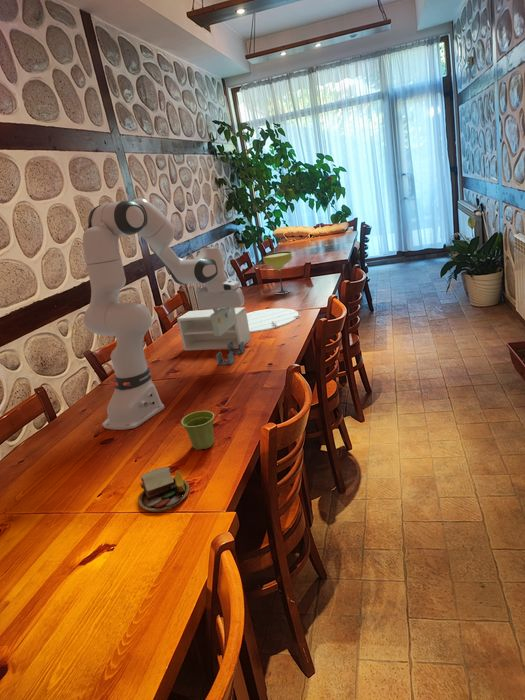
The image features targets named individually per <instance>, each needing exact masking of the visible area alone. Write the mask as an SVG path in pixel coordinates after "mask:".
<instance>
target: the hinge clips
mask: <svg viewBox="0 0 525 700" xmlns="http://www.w3.org/2000/svg"><path fill="white" fill-rule="evenodd" d="M227 346H228V349H227V350H228V351H227V352H228V354H227V355H226V357H227V360H225V359H224V358H223V351H219V352H218V353H217V354H216V355H215V358H216V364H217V366H227V365H226V364H231V365H232V364H234V362H235V356H234V355H242V354H243V353H245V352H246V349H245V346H244V342H241V343H240V344H239V345H238V346H239V349H234V347H233V342H230V343H229V344H228V345H227Z"/></svg>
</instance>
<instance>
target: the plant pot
mask: <svg viewBox="0 0 525 700" xmlns="http://www.w3.org/2000/svg"><path fill="white" fill-rule="evenodd" d="M214 418H215V414H214V412H212V411H210V410H199V411H194V412H191V413H189V414H187V415H185V416H184V417H183V418H182V419H181V421H180V422H181V425H182V426H183V427H184V429H185V430H186V433H187V436H188V437H189V440H190V442H191V444H192V448H193V449H194V450H197V451H198V450H199V451H201V450H203V449H205V450H206V449H208V448H211V447H212V446H213V445H214V442H215V441H214V438H215V437H214Z"/></svg>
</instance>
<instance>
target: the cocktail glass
mask: <svg viewBox="0 0 525 700" xmlns="http://www.w3.org/2000/svg"><path fill="white" fill-rule="evenodd" d="M292 257H293V256H292V253H291V252H290V251H280V252H274V253H269V254H265V255H264V256H263V257H262V259H263V263H264V264H265V265H267V266H270V267H272V268H275V269H276V271H278V274H279V281H280V290H278V291H279V292H278V291H276V292H277V293H285V292H288V291H287V290H288V289H285V290H284V287H283V282H282V277H281V270H282V268H283V267H284V266H285V265H286V264H288V263H289V262H290V261H291V259H292Z"/></svg>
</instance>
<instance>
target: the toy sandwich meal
mask: <svg viewBox="0 0 525 700" xmlns="http://www.w3.org/2000/svg"><path fill="white" fill-rule="evenodd" d="M140 480H141V483H140V488H141V489H143V491H142V492H141V493H140V495H139V496H138V504H139V506H140V508H142V509H143V510H145V511H149V512H153V513H154V512H156V513H160V512H164V510H165V511H168V510H170V508H171V509H173V508H174V506H175V507H177V506H178V505H180V502H181V501H182V500H183V499H184V500H185V499H186V497H187V496H188V494H189V492H190V485H189V482H188V481H186V480H185V479H183V476H182V474H181V472H180V471H179V470H176V471H174V477H173V476H172V474H171V469H170V467H167V466H164V467H163V466H162V467H158V468H155V469H151V470H150V471H148V472H146V473H144V474H143V475H141V477H140ZM182 495H183V496H182ZM184 500H183V501H184ZM183 501H182V502H183ZM182 502H181V503H182ZM177 504H178V505H177ZM172 507H173V508H172ZM167 509H168V510H167Z"/></svg>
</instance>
